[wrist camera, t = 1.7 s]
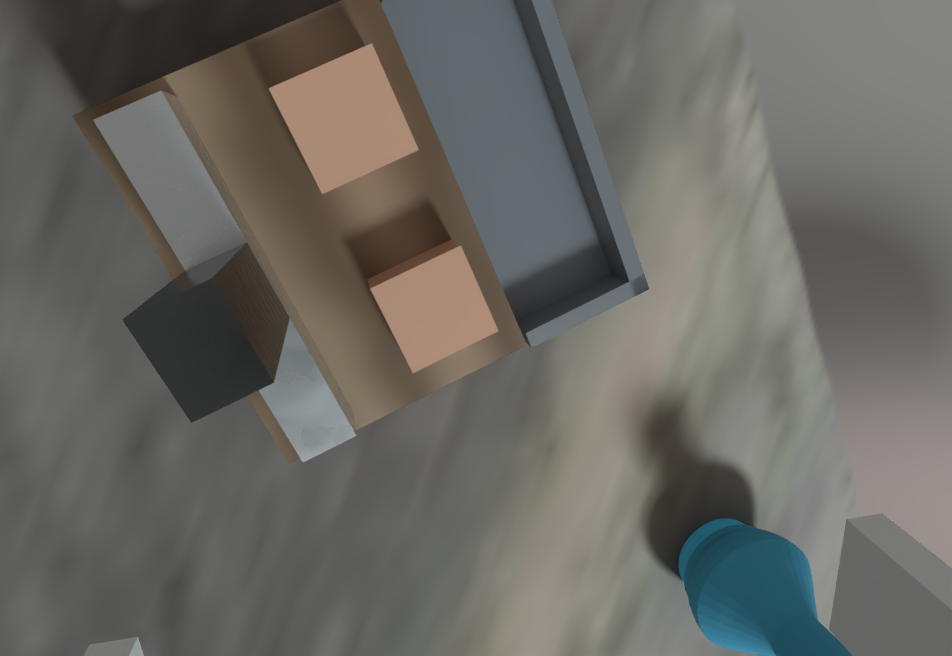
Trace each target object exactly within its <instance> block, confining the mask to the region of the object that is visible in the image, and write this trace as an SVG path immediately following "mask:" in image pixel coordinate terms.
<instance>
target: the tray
mask: <svg viewBox="0 0 952 656" xmlns="http://www.w3.org/2000/svg"><path fill="white" fill-rule="evenodd" d="M380 2H381V5H382V7H383V9H384V12H385V14H386V16H387V19H388V21H389V23H390V26H391V28H392V30H393V33H394V35H395V37H396V40H397V42H398V44H399V47H400V49H401V51H402V54H403V56H404V58H405V61H406V63H407V66H408V68H409V70H410V73H411V75H412V77H413V80H414V82H415V84H416V87H417V89H418V91H419V94H420V96H421V98H422V101H423V103H424V105H425V108H426V110H427V112H428V115H429V117H430V119H431V122H432V124H433V127H434V129H435V131H436V134H437V136H438V138H439V141H440V143H441V145H442V148H443V150H444V152H445V155H446V157H447V159H448V162H449V164H450V166H451V169H452V171H453V173H454V176H455V178H456V180H457V183H458V185H459V187H460V190H461V192H462V195H463V197H464V199H465V202H466V204H467V206H468V209H469V211H470V213H471V216H472V218H473V220H474V223H475V225H476V227H477V230H478V232H479V234H480V237H481V239H482V241H483V244H484V246H485V248H486V251H487V253H488V255H489V258H490V260H491V263H492V265H493V267H494V270H495V272H496V274H497V277H498V279H499V281H500V284H501V286H502V288H503V291H504V293H505V295H506V298H507V300H508V302H509V305H510V307H511V309H512V312H513V314H514V316H515V319H516V321H517V324H518V326H519V328H520V331H521V333H522V335H523V338H524V340H525V342H526V343H527V344H528V345H529V346H530V347H534V346H536V345H538V344H540V343H542V342H544V341H546V340H548V339H550V338H552V337H554V336H556V335H558V334H560V333H562V332H564V331H566V330H568V329H570V328H572V327H574V326H576V325H578V324H580V323H582V322H584V321H586V320H588V319H590V318H592V317H594V316H596V315H598V314H600V313H602V312H604V311H606V310H608V309H610V308H612V307H614V306H616V305H618V304H620V303H622V302H624V301H626V300H628V299H630V298H632V297H634V296H636V295H638V294H640V293H642V292H644V291H646V290H648V289H649V287H648V284H647V281H646V278H645V275H644V272H643V269H642V266H641V263H640V260H639V257H638V254H637V252H636V249H635V246H634V243H633V240H632V237H631V234H630V231H629V228H628V225H627V222H626V219H625V216H624V213H623V210H622V207H621V204H620V201H619V198H618V195H617V192H616V189H615V186H614V183H613V180H612V177H611V174H610V172H609V169H608V166H607V163H606V160H605V157H604V154H603V151H602V148H601V145H600V142H599V139H598V136H597V133H596V130H595V127H594V124H593V121H592V118H591V115H590V112H589V109H588V106H587V103H586V100H585V97H584V94H583V92H582V89H581V86H580V83H579V80H578V77H577V74H576V71H575V68H574V65H573V62H572V59H571V56H570V53H569V50H568V47H567V44H566V41H565V38H564V35H563V32H562V29H561V26H560V23H559V20H558V17H557V14H556V12H555V9H554V6H553V3H552V0H380Z"/></svg>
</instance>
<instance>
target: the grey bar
mask: <svg viewBox="0 0 952 656" xmlns="http://www.w3.org/2000/svg"><path fill="white" fill-rule="evenodd" d="M93 121H94V122H95V124H96V126H97V127H98V129H99V130H100V132H101V134H102V135H103V137H104V139H105V140H106V142H107V144H108V145H109V147H110V148H111V150H112V152H113V153H114V155H115V157H116V158H117V160H118V161H119V163H120V165H121V166H122V168H123V170H124V171H125V173H126V175H127V176H128V178H129V179H130V181H131V183H132V184H133V186H134V188H135V189H136V191H137V193H138V194H139V196H140V197H141V199H142V201H143V202H144V204H145V206H146V207H147V209H148V210H149V212H150V214H151V215H152V217H153V219H154V220H155V222H156V224H157V225H158V227H159V228H160V230H161V232H162V233H163V235H164V237H165V238H166V240H167V242H168V243H169V245H170V246H171V248H172V250H173V251H174V253H175V255H176V256H177V258H178V259H179V261H180V263H181V264H182V266H183V268H184V269H185V271H184V272H183V273H181V274H180V275H179V276H178V277H176V278H175V279H174V280H172V281H171V282H170V283H169V284H167V285H166V286H165V287H164V288H162V289H161V290H160V291H158V292H157V293H156V294H155V295H153V296H152V297H151V298H150V299H148V300H147V301H146V302H144V303H143V304H142V305H141V306H139V307H138V308H137V309H136V310H134V311H133V312H132V313H130V314H129V315H128V316H127V317H125V318H124V319H123V321H124V323H125V324H126V326H127V327H128V329H129V330H130V332H131V333H132V335H133V336H134V338H135V339H136V341H137V342H138V344H139V345H140V347H141V348H142V350H143V351H144V353H145V354H146V356H147V357H148V359H149V360H150V362H151V363H152V365H153V366H154V368H155V369H156V371H157V372H158V374H159V375H160V377H161V378H162V379H163V381H164V382H165V384H166V385H167V387H168V388H169V390H170V391H171V393H172V394H173V396H174V397H175V399H176V400H177V402H178V403H179V405H180V406H181V408H182V409H183V411H184V412H185V414H186V415H187V417H188V418H189V420H190V421H191V423H192V422H194V421H196V420H198V419H200V418H202V417H204V416H206V415H208V414H210V413H213V412H215V411H217V410H219V409H221V408H223V407H225V406H227V405H229V404H231V403H233V402H235V401H237V400H239V399H241V398H243V397H246V396H248V395H250V394H252V393H254V392H256V391H258V390H259V392H260V393H261V395H262V397H263V398H264V400H265V402H266V403H267V405H268V406H269V408H270V410H271V411H272V413H273V415H274V416H275V418H276V419H277V421H278V423H279V424H280V426H281V428H282V429H283V431H284V433H285V434H286V436H287V437H288V439H289V441H290V442H291V444H292V446H293V447H294V449H295V451H296V452H297V454H298V455H299V457H300V459H301V460H302V462H305V461H307V460H309V459H311V458H313V457H315V456H317V455H319V454H321V453H323V452H325V451H327V450H329V449H331V448H333V447H335V446H337V445H339V444H341V443H343V442H345V441H347V440H349V439H351V438H353V437H355V436H356V426H355V416H354V412H353V410H352V408H351V406H350V405H349V403H348V401H347V399H346V397H345V396H344V394H343V392H342V390H341V388H340V387H339V385H338V383H337V381H336V380H335V378H334V376H333V374H332V372H331V371H330V369H329V367H328V365H327V363H326V362H325V360H324V358H323V356H322V354H321V353H320V351H319V349H318V347H317V346H316V344H315V342H314V340H313V338H312V337H311V335H310V333H309V331H308V329H307V328H306V326H305V324H304V322H303V320H302V319H301V317H300V315H299V313H298V312H297V310H296V308H295V306H294V304H293V303H292V301H291V299H290V297H289V295H288V294H287V292H286V290H285V288H284V286H283V285H282V283H281V281H280V279H279V278H278V276H277V274H276V272H275V270H274V269H273V267H272V265H271V263H270V261H269V260H268V258H267V256H266V254H265V252H264V251H263V249H262V247H261V245H260V244H259V242H258V240H257V238H256V236H255V235H254V233H253V231H252V229H251V227H250V226H249V224H248V222H247V220H246V218H245V217H244V215H243V213H242V211H241V210H240V208H239V206H238V204H237V202H236V201H235V199H234V197H233V195H232V193H231V192H230V190H229V188H228V186H227V184H226V183H225V181H224V179H223V177H222V176H221V174H220V172H219V170H218V168H217V167H216V165H215V163H214V161H213V159H212V158H211V156H210V154H209V152H208V150H207V149H206V147H205V145H204V143H203V141H202V140H201V138H200V136H199V134H198V133H197V131H196V129H195V127H194V125H193V124H192V122H191V120H190V118H189V116H188V115H187V113H186V111H185V109H184V107H183V106H182V104H181V102H180V100H179V99H178V97H176V96H174V95H171V94H169V93H166V92H164V91H159V92H156V93H154V94H152V95H149V96H147V97H145V98H142V99H140V100H138V101H135V102H133V103H131V104H129V105H126V106H124V107H122V108H119V109H117V110H115V111H112V112H110V113H108V114H105V115H103V116H101V117H98V118H96V119H94V120H93Z"/></svg>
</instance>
